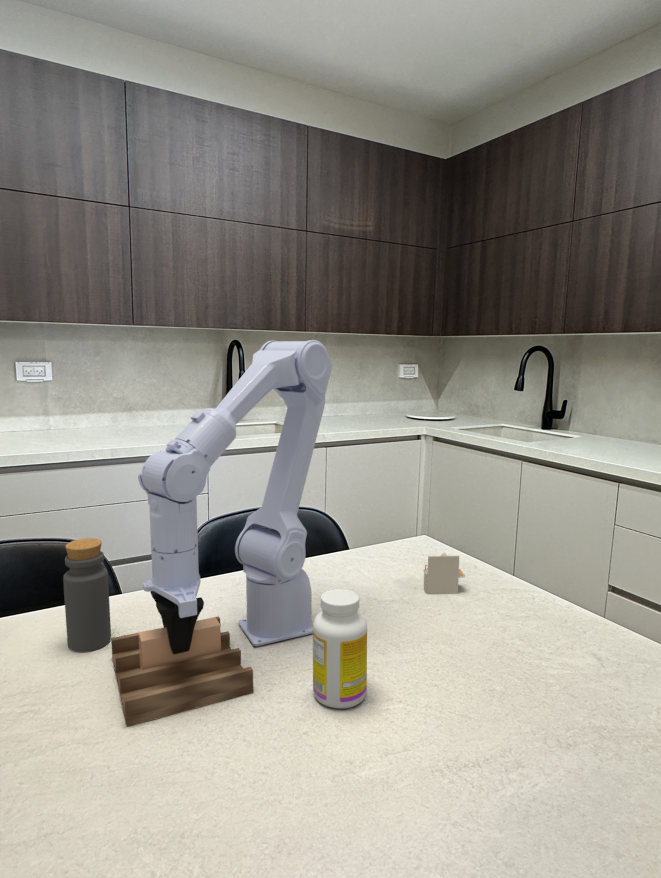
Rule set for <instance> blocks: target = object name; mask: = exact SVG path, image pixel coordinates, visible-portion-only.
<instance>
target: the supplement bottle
mask: <svg viewBox="0 0 661 878" xmlns="http://www.w3.org/2000/svg"><path fill="white" fill-rule="evenodd" d="M320 608H321V610H322V611H320V612H319V613H318V614H317V615H316V616H315V617H314V619H313V622H312V629H313V633H312V691H313V695H314V698H316V700H317V701H318V702H319V703H320V704H322V705H324V706H326V707H328V708H329V707H330V708H332V709H348V708H352V707H355V706H357V705H358V704H360V703H361V702H363V700H364V699H365V698H366V695H367V691H368V690H367V689H368V688H367V687H368V685H367V682H368V623H367V620H366V618H365V616H364V615H363V614H362V613H360V612H359V608H360V595H359V594H358V593H356V592H355V591H352V590H349V589H343V588H338V589H337V588H336V589H331V590H327V591H324V592H323V593H322V594H321V596H320Z"/></svg>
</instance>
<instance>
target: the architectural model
mask: <svg viewBox="0 0 661 878" xmlns="http://www.w3.org/2000/svg"><path fill="white" fill-rule="evenodd" d="M427 558H428V559H427V565H426V564H424V569H423V591H424V593H425V595H458V593H459V578H465V577H466V576H465V574H464V573H463V571H462V569H460V555H447V554H446V552H442V554H441V555H428V557H427Z"/></svg>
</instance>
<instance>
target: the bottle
mask: <svg viewBox="0 0 661 878" xmlns="http://www.w3.org/2000/svg"><path fill="white" fill-rule="evenodd" d="M65 549H66V552H67V555H66V556H65V558H64V563H65V566H66V567H67V568H69V570H67V571H66V572H65V573H64V574H63V576H62V577H63V579H62V582H63V595H64V609H65V610H64V611H65V612H64V613H65V627H66V639H67V640H66V641H67V646H68V649H69V650H71V651H72V652H76V653H88V652H93V651H96V650H99V649H102V648H104V647H105V646H107V645H108V644H109V643H110V642H111V638H112V629H111V628H112V627H111V612H110V610H111V609H110V591H109V590H110V589H109V576H108V575H109V573H108V569H107V568H106V567H104V566H102V565H101V563H103V562H104V561H105V553H104V552H103V551H101V549H102V540H101V539H100V538H99V539H98V538H93V537H90V538H89V537H87V538H81V539H75V540H72V541H70V542H68V543H67V544H65Z"/></svg>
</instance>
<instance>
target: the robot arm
mask: <svg viewBox="0 0 661 878" xmlns="http://www.w3.org/2000/svg"><path fill="white" fill-rule="evenodd" d="M332 370H333V362H332V360H331V358H330V355H329V353H328V350H327V349H326V346H325V345H324V344H323V343H322V342H321V341H319V340H316V339H308V340H304V341H301V340H291V341H290V340H289V341H286V340H285V341H284V340H282V341H281V340H280V341H279V340H269V341H266V342H265V343H263V344H262V346H261V347H260V349H259V350H257V351H256V352H254V353H253V355H252V362H251V364H250V365H249V367H248V368H247V369H246V371H245V372H243V374H242V375H241V377H240V378H239V379H238V380H237V382H236V383H235V384H233V386H232V388H231V389H230V390H229V391H228V392H227V394H226V395H225V396H224V397H223V398H222V400H221V401H220V403H219V404H218V405H216V406H217V407H215V408H211V407H206V408H202V410H201V411H198V410H196V411H194V412H193V414H191V416H190V420H191V421H190V422H189V423H188V424H187V425H186V427H184V429H183V430H182V431H181V432H180V433H179V434H177V436H176V437H175V438H173V439H170V440H169V441H168V442H167V444H166V447H165V450H160V451H156V452H153V453H152V454H151V455H150V456H149V457H148V458H146V460H145V461H144V462H143V463H144V464H143V466H142V469H141V473H140V474H138V475H137V479H138V482H139V486H140V487H141V489H142V490H143V491H144V492H145V493H146V495H147V503H148V506H149V526H150V527H149V528H150V532H149V534H150V549H151V550H150V553H151V554H150V555H151V570H152V571H151V572H152V573H151V574H152V577H151V579H149V580H148V579H147V580H145V581H142V589H143V591H144V592H147V593H149V592H150V595H151V597H152V599H153V600H154V602H155V607H156V609H157V612H158V614H159V615H160V619H161V621H162V625H163V627H166V629H167V634H168V639H169V644H170V647H171V650H172V653H173V654H178V653H183V652H187V651H189V649H190V646H191V641H192V636H193V631H194V627H195V624H196V621H198V618H199V616H200V614H201V612H202V610H203V609H204V607H205V606H204V605H205V601H204V600H203V597H201V596H200V597H197V595H198V592H199V590H200V586H201V575H200V573H199V571H200V570H199V541H198V536H199V534H198V507H197V506H198V505H197V503H198V502H197V500H198V499H197V497H198V496H199V495H200V494H202V493H203V491H204V489H205V487H206V484H207V478H208V474H209V472H210V471H211V468H212V466H213V465H214V464H215V462H216V461H217V460H218V459H219V458H220V457H221V455H222V454H223V453H224V452H225V451H226V450H227V449H228V448H229V447H230V446H231V444H232V442H234V441H235V439H237V438H236V437H237V424H239V422H240V421H241V420H242V419H243V418H245V416H247V414H248V413H249V412H250V411H251V410H253V409H254V407H256V405H257V404H259V403H260V401H262V400H263V399H264V398H265V397H266V396H267V395H268V394H269V393H270V392H271V391H272V390H274V391H275V392H276V393H277V395H278V396H279V397H280V398H281V399H282V400H283V401H284V403H285V405H286V407H287V408H286V413H285V416H284V419H283V423H282V428H281V432H280V436H279V440H278V443H277V446H276V451H275V454H274V459H273V462H272V465H271V469H270V473H269V478H268V481H267V485H266V489H265V492H264V496H263V500H262V504H261V507H260V508H257V510H255V511H254V512H252V513H251V514H249V515H248V516H247V518H246V522H245V525H244V527H243V530H242V531H241V532H240V533H239V535H238V537H237V538H236V542H235V545H234V546H235V547H234V554H235V557H236V559H237V561H238V562H239V563H240V564H241V565H242V566H243V573H245V575H246V577H245V579H246V580H245V581H246V583H245V584H246V585H245V586H246V592H245V593H246V618H244V619H239V620H238V625H239V627H240V628H241V630H242V631H243V633H244V634H245V636H246V637H247V638H248V640H249V641H250V643H251V644H252V646H254V647H259V646H264V645H268V644H273V643H277V642H281V641H286V640H290V639H294V638H298V637H302V636H306V635H307V636H308V635H310V634H312V635H313V627H312V587H311V581H310V578H309V575H308V574H307V572H306V571H305V570H304V569H303V567H304V564H305V561H306V556H307V555H306V541H307V540H306V539H307V537H308V536H307V535H308V532H307V529H306V527H305V526H304V525H303V523H302V522H301V520H300V519H299V516H298V513H299V508H300V504H301V500H302V496H303V492H304V489H305V485H306V482H307V477H308V472H309V469H310V465H311V461H312V458H313V457H312V456H313V454H314V453H313V452H314V449H315V446H316V441H317V437H318V434H319V430H320V426H321V422H322V417H323V413H324V410H325V405H326V393H327V390H328V385H329V380H330V377H331V373H332ZM271 529H272V530H271ZM273 530H275V531H273ZM163 627H162V628H163Z"/></svg>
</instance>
